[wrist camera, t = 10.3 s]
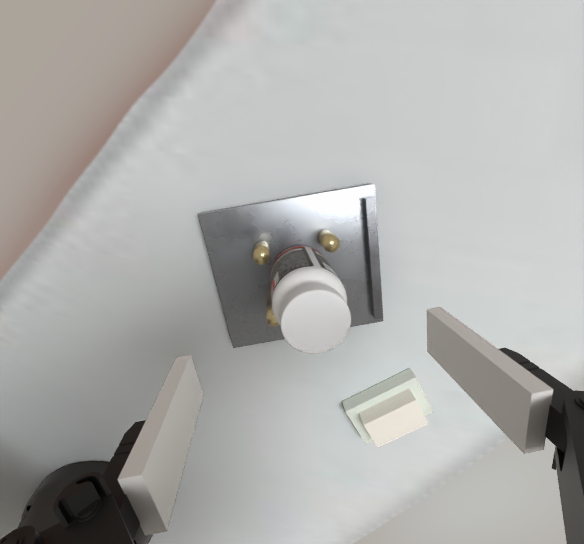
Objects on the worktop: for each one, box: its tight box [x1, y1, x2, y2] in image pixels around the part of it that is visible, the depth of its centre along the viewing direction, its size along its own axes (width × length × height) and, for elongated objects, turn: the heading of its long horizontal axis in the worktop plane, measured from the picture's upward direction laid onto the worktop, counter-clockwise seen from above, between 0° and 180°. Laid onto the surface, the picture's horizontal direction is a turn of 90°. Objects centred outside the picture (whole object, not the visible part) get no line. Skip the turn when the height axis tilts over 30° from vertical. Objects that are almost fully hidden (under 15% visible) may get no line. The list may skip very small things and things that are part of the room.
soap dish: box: [342, 368, 433, 447], centre depth 34 cm, size 9×6×3 cm, turn 119°
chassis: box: [198, 184, 383, 348], centre depth 27 cm, size 16×14×4 cm
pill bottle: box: [270, 246, 351, 353], centre depth 24 cm, size 6×6×10 cm
